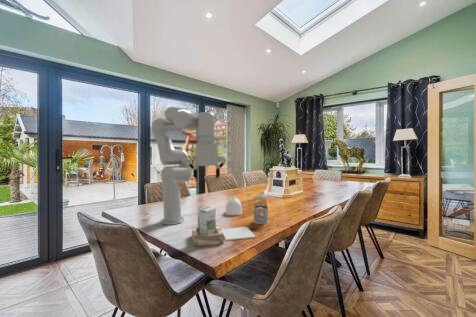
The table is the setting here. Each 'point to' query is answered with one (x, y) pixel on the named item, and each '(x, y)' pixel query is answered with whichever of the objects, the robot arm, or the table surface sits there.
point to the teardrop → (233, 207)
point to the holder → (207, 237)
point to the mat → (237, 233)
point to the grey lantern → (260, 210)
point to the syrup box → (206, 221)
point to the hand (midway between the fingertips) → (206, 178)
